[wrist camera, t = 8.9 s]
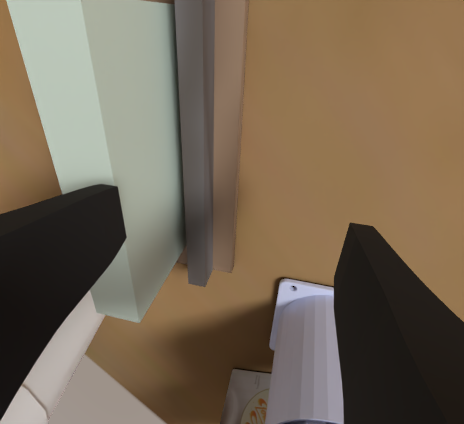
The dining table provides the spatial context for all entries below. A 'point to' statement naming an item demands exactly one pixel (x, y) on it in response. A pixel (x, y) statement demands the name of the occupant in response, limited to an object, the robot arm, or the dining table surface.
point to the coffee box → (246, 398)
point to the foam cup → (55, 366)
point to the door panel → (113, 126)
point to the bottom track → (210, 127)
